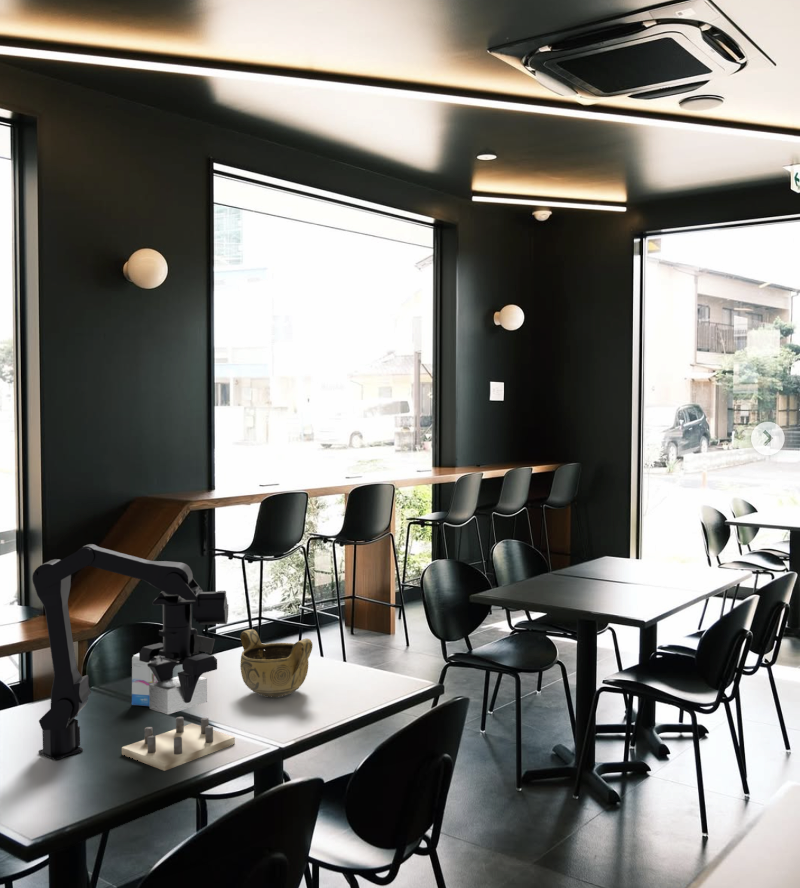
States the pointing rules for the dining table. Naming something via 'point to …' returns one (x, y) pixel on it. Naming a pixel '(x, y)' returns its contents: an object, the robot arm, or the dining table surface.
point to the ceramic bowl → (273, 665)
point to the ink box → (141, 681)
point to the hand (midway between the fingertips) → (178, 699)
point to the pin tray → (168, 747)
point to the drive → (175, 695)
